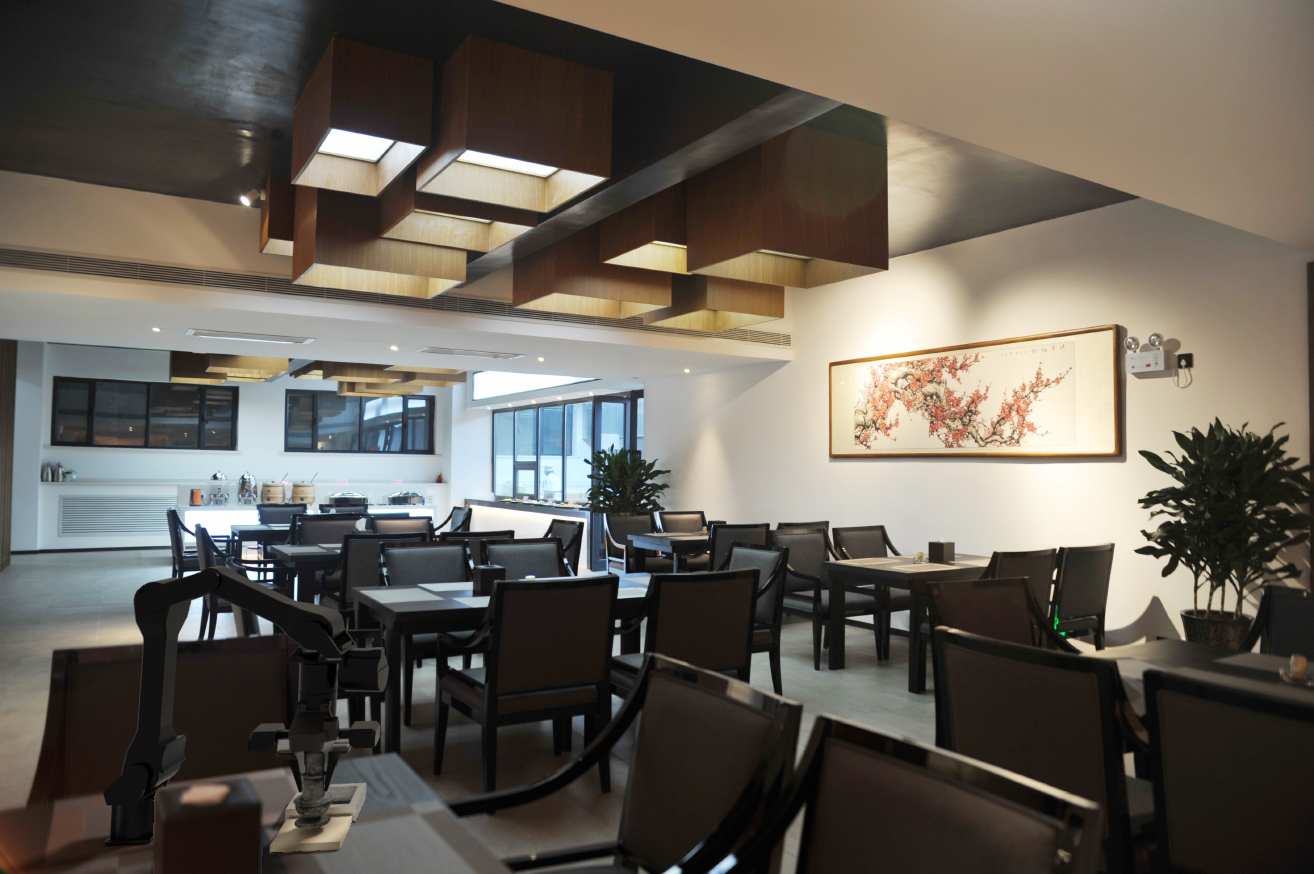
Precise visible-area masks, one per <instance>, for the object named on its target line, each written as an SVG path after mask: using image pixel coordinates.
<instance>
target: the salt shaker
mask: <svg viewBox="0 0 1314 874" xmlns="http://www.w3.org/2000/svg"><path fill="white" fill-rule="evenodd" d="M325 758H326V755H325V752H324V751H323V749H322V750H321V751H319V752H311V751H307V753H306V754H305V756H304V773H303V774H302V777H304V788H303V792H302V795H300V796H297V797H296V798H295V799H294V800H293V803H294V804H295V808H296V811H297V813H298V814H299V815H300V816H302V817H300V818H299V819H297V820H296V821H295V823H294V825H295V826H296V827H298V828H302V829H311V828H317V827H321V826H324V825H326V824H328V823H329V822H330V820H331V819H330V817H329V816H327V815H325V814H324V813H326V812H327V810H328V809H329V807H330V805H332V801H331V800H333V795H332V794H331V793H328V792H325V788H324V785H325V777H326V770H325V767H326V766H325V765H326V764H325V761H326V759H325Z"/></svg>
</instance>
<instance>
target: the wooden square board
mask: <svg viewBox="0 0 1314 874" xmlns="http://www.w3.org/2000/svg"><path fill="white" fill-rule="evenodd" d="M297 819H299V818H293V819H287V820H286V821H285V820H284V823H283V824H282V826H281V827H280V829H279V831H278V832H277V834H276V835H275V837H274V839H273V840H272V841H271V843H270V845H269V853H270V852H283V853H294V852H293V851H296V852H295V853H298V852H297V851H302V852H315V851H316V850H317V852H318V850H320V851H334V850H335V851H336V850H338V851H339V850H341V847H342V845H343V843H344V841H345V839H346V837H347V835H346V834H348V833H349V831H350V827H351V826H350V825H352V824H351V823H353V822H352V816H336V817H330V819H331V820H330V822H329V823H328V824H326V825H324V826H321V827H317V828H311V829H302V828H298V827H296V826H295V825H294V823H295V821H296V820H297Z"/></svg>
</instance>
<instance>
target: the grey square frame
mask: <svg viewBox="0 0 1314 874" xmlns="http://www.w3.org/2000/svg"><path fill="white" fill-rule="evenodd" d="M367 786H368V785H367V782H357V783H332V784H330V786H329V789H328V791H327V792H328V793H331V794H332V795H333V800H331V802H343V801H345V802H348V801H349V803H341V804H339V803H337V804H331V805H330V807H329V809H328V810H327V812H326V813H324V814H325V815H327V816H329V817H336V816H352V821H355V822H356V821H357V819H356V818H358V816H359V814H360V812H361V809H362V808H363V807H362V806H363V805H364V803H365V801H366V798H367ZM303 788H304V786H303ZM324 788H325V784H324ZM302 792H303V791H302ZM302 792H301V793H299V791H298V790H297V792H296V793H295V795H294V796H293V798H292V799H291V801H290V802H289V803H288V805H287V807H286V808H285V812H284V813H285V814H284V815H285V817H284V822H285V821H286V820H287V819H293V818H300V817H302V816H300V815H299V814H298V813H297V811H296V808H295V804H294V803H293V800H294V799H295V798H296V797H297V796H300V795H302Z"/></svg>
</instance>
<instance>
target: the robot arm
mask: <svg viewBox="0 0 1314 874" xmlns="http://www.w3.org/2000/svg"><path fill="white" fill-rule="evenodd" d="M133 595H134V596H133V598H132V599H133V611H134V613H133V614H134V620H135V624H136V625H137V628H138V630H139V632H140V634H141V635H142V655H141V669H140V671H141V672H140V685H139V699H138V700H139V701H138V710H137V711H138V713H137V714H138V715H137V717H138V718H137V725H136V727H137V728H136V731H135V734H134V736H133V738H132V740H131V743H130V744H129V746H128V748H127V749H126V753H125V757H124V759H123V760H124V761H123V765H122V768H121V774H120V776H119V777H118V778H116V780H114V781H113V782H112V783H111V784H110V785H109V786H108V787H106V789H105V790H104V791H103V792H102V794H103V797H104V801H105V804H106V805H107V806H111V811H110V826H109V827H110V828H109V831H110V832H109V836H108V838H106V839H105V840H104V845H106V846H107V845H127V844H128V845H129V844H148V843H150V842H152V841H153V840H154V839H153V823H154V801H153V800H154V796H155V793H156V791H157V790H158V789H159V788H162V787H163V788H166V787H168V785H169V783H170V780H171V777H173V776H175V775H176V773H177V772H178V771H179V770H180V768H181V766H182V763H183V762H184V761H185V760H186V759H187V758H186V754H185V748H186V747H185V746H186V742H187V735H186V734H181V735H178V734H177V732H176V730H175V728H174V724H173V718H174V717H173V716H174V704H175V687H176V673H177V661H178V659H177V658H178V656H177V655H178V641H179V635H180V632H181V631H182V628H183V626H184V624H185V622H186V620H187V619H188V617H189V613H190V612H189V611H190V608H191V605H192V601H194V600H197V599H200V598H202V597H206V596H208V595H212V596H215V597H217V598H219V599H222V600H224V601H225V602H228V603H230V604H231V605H235V606H237V607H239V608H241V609H243V610H245V611H247V612H249V613H250V614H251V613H252V614H253V615H256V616H257V617H260V618H261V619H264V620H266V621H268V622H271V623H272V624H274V625H275V626H277V627H279V628H280V629H281V630H282V632H283V633H284V634H285V635H286V636H287V637H288V638H289V639H291V640H292V641H293V642H294V643H296V644H297V645H299V646H297V647H296V648H295V649H294V651H293V653H291V654H290V655H289V656H288V657H286V658H285V662H286V663H288V664H299V676H298V695H297V696H298V697H297V702H296V712H295V714H294V717H293V719H292V722H291V725H290V727H289V729H286V727H285V724H284V722H277V723H276V722H273V723H271V722H270V723H260V724H259V725H258V726H257V727H256V728H255V729H254V730H252V732H251V733H250V734H249V737H248V741H247V751H248V752H251V753H253V752H269V751H270V750H271V749H272V748H274V746H276V744H277V750H276V752H275V755H276V756H277V757H283V758H284V760H285V761H286V762H287V764H288V765H289V768H290V771H291V774H292V776H293V778H294V781H295V785H296V788H297V792H298V791H299V793H301V792H302V791H303V786H304V777H302V774H303V773H305V752H309V751H311V752H319V751H321V750H322V751H323V749H324V746H325V743H329V742H331V747H330V748H329V750H328V751H327V763H326V764H327V765H326V770H325V771H326V775H325V778H324V785H325V792H327V791H328V789H329V786H330V784H331V783H332V781H333V778H334V776H335V773H336V769H337V767H338V764H339V762H340V760H341V758H342V756H343V755H344V754H345V755H346V754H349V752H350V750H351V749H357V750H358V749H372V748H374V747H376V745H377V743H378V741H379V740H380V737H381V724H380V723H379V722H378V721H377V720H357V721H354V722H353V724H352V725H351V726H350V727H348V728H347V727H346V728H345V727H340V720H339V716H337V704H338V686H339V688H342V689H343V690H344V691H345V692H371V693H383V692H384V690H385V689H386V686H387V684H388V679H389V672H390V671H389V668H390V667H389V666H390V665H389V664H388V659H387V656H386V655H385V654H386V653H385V647H383V646H381V647H380V646H377V647H371V648H370V647H364V648H363V647H358V645H357V643H356V642H355V641H354V639H353V637H352V636H351V634H350V633H349V632H348V631H347V629H346V628H345V621H344V619H343V615H342V614H341V613H340V612H339V611H338V610H336V609H335V608H331V607H327V606H324V605H320V604H316V603H309V602H303V601H299V600H295V599H292V598H291V597H288V596H286V595H284V594H281V593H279V592H277V591H276V590H273V589H271V588H268V587H267V586H264V585H263V584H261V583H258V582H256V581H254V580H252V579H250V578H248V577H246V576H243V575H241V574H239V573H237V572H235V571H233V570H232V569H230V568H229V567H228V566H226V565H216V566H210V567H206V568H204V569H202V570H200V571H198V572H196V573H194V574H193V573H192V574H191V575H186V576H183V577H174V576H173V577H168V578H164V579H158V580H154V581H150V582H146V583H143V585H141V586H140V587H139V588H138V589H137V590H136V591H135V593H134V594H133ZM163 788H162V789H163ZM152 839H153V840H152ZM151 840H152V841H151Z"/></svg>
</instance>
